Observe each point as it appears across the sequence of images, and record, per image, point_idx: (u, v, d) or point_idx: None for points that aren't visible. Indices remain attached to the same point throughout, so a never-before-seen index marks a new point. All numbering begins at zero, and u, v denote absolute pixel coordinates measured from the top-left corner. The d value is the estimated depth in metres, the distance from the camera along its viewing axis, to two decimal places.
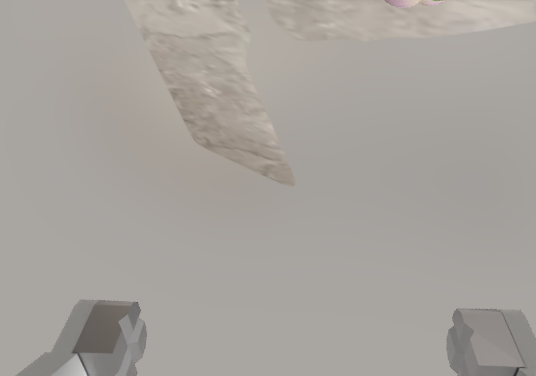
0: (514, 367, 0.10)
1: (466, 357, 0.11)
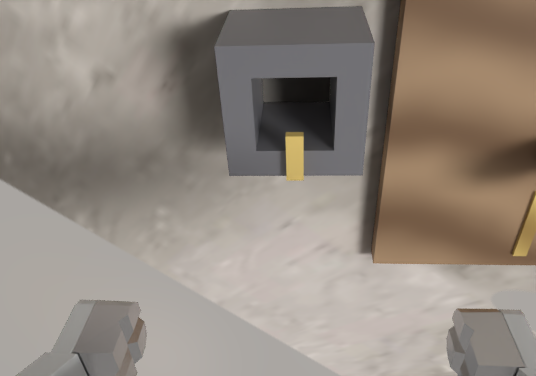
0: (514, 367, 0.10)
1: (466, 357, 0.11)
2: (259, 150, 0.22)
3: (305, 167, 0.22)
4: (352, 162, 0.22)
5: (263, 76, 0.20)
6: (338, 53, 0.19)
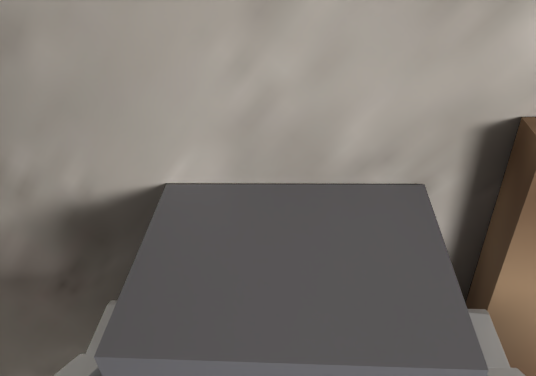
0: None
1: None
2: None
3: None
4: None
5: None
6: None
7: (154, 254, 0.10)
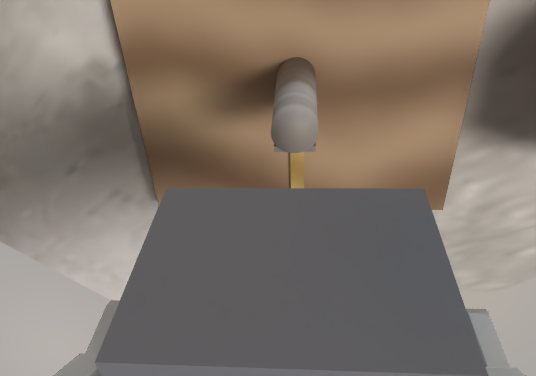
0: None
1: None
2: None
3: None
4: None
5: None
6: None
7: (154, 259, 0.10)
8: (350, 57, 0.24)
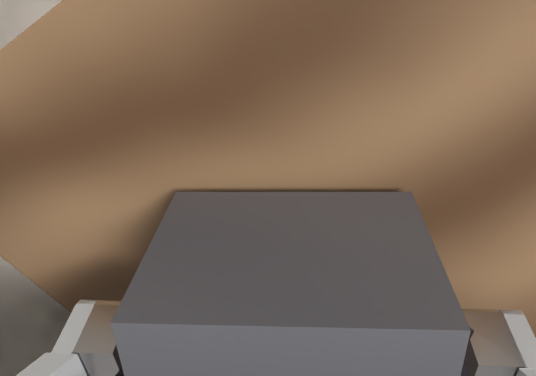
0: (514, 367, 0.10)
1: (466, 357, 0.11)
2: None
3: None
4: None
5: None
6: (386, 344, 0.08)
7: (165, 245, 0.11)
8: (364, 187, 0.13)
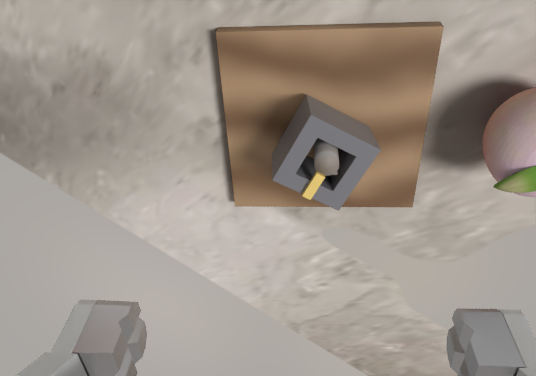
0: (514, 367, 0.10)
1: (466, 357, 0.11)
2: (296, 174, 0.38)
3: (313, 193, 0.39)
4: (337, 201, 0.40)
5: (323, 139, 0.37)
6: (363, 146, 0.37)
7: (312, 106, 0.38)
8: None
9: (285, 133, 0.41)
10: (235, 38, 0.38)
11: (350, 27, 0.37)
